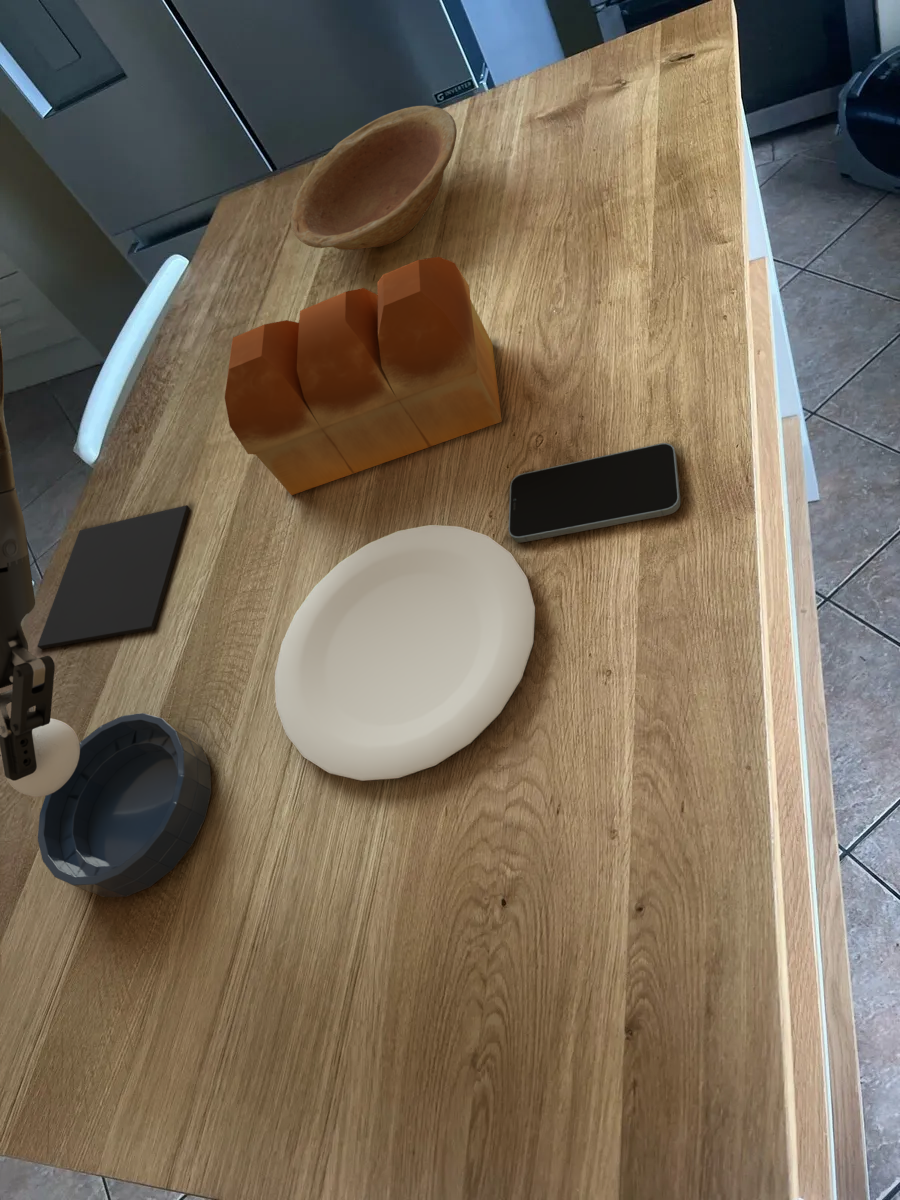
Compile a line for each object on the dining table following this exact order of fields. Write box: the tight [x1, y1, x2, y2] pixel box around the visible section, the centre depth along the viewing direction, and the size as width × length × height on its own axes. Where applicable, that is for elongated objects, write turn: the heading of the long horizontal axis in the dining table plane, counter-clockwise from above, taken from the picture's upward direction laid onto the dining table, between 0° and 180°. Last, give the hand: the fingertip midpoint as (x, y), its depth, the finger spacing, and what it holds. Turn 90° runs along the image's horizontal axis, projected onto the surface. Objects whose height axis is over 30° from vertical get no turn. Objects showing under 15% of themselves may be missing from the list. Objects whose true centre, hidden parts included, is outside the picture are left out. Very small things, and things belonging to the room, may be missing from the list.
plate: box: [274, 524, 537, 782], centre depth 79 cm, size 25×25×2 cm
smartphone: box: [508, 442, 681, 543], centre depth 79 cm, size 7×1×15 cm
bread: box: [224, 256, 503, 496], centre depth 91 cm, size 25×12×15 cm, turn 93°
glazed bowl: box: [37, 712, 212, 898], centre depth 80 cm, size 15×15×4 cm
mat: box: [37, 505, 190, 650], centre depth 101 cm, size 16×16×1 cm
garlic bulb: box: [0, 717, 80, 798], centre depth 71 cm, size 6×6×8 cm
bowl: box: [290, 105, 458, 251], centre depth 114 cm, size 24×24×8 cm
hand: (4, 766), depth 70 cm, fingers closed on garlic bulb, 4 cm apart
